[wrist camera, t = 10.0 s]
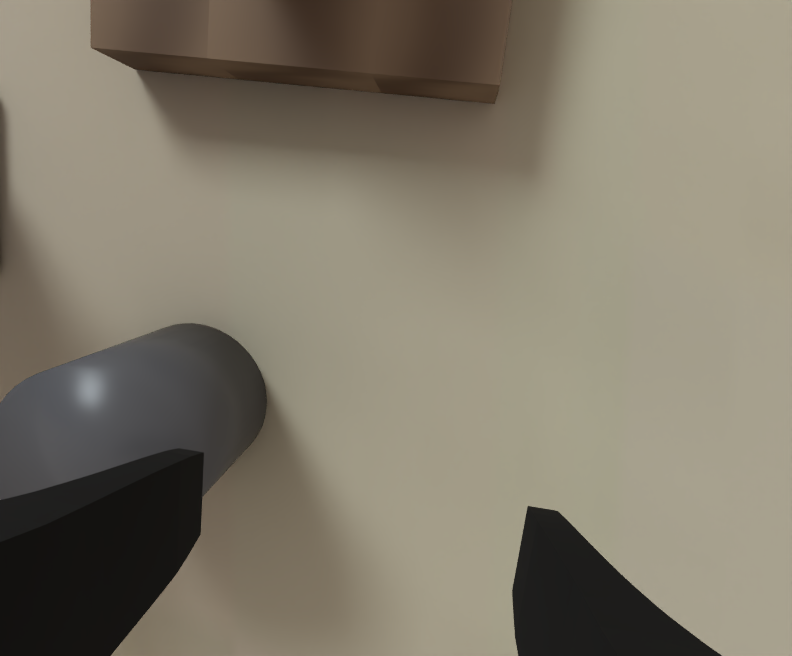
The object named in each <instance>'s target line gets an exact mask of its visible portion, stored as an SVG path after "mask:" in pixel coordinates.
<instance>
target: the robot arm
mask: <svg viewBox="0 0 792 656" xmlns="http://www.w3.org/2000/svg"><path fill="white" fill-rule="evenodd" d="M203 466H204V452H199V451H193V450H187V449H180V448H177V449H172V450H167V451H163V452H160V453H156V454H153V455H150V456H147V457H143V458H140V459H137V460H134V461H131V462H128V463H125V464H122V465H119V466H116V467H113V468H110V469H107V470H104V471H101V472H98V473H95V474H92V475H88V476H85V477H82V478H78V479H75V480H72V481H68V482H65V483H62V484H58V485H55V486H52V487H48V488H45V489H41V490H38V491H34V492H31V493H27V494H23V495H19V496H15V497H11V498H7V499H2V500H0V656H111V654H112V653H113V652H114V651H115V649H116V648H117V647H118V646H119V645H120V643H121V642H122V641H123V640H124V638H125V637H126V636H127V635H128V634H129V632H130V631H131V630H132V629H133V627H134V626H135V625H136V624H137V622H138V621H139V620H140V619H141V618H142V616H143V615H144V614H145V613H146V611H147V610H148V609H149V608H150V607H151V605H152V604H153V603H154V602H155V600H156V599H157V598H158V597H159V595H160V594H161V593H162V592H163V590H164V589H165V588H166V586H167V585H168V584H169V583H170V581H171V580H172V579H173V578H174V576H175V575H176V574H177V572H178V571H179V569H180V567H181V566H182V564H183V563H184V561H185V560H186V558H187V556H188V555H189V553H190V551H191V550H192V548H193V546H194V544H195V543H196V541H197V539H198V538H199V536H200V533H201V511H202V489H203ZM512 594H513V612H514V627H515V639H516V645H517V650H518V656H721V655H720V654H719V653H717V652H716V651H714V650H713V649H712V648H710V647H709V646H707V645H706V644H705V643H703V642H702V641H700V640H699V639H698V638H697V637H695V636H694V635H693V634H691V633H690V632H689V631H687V630H686V629H685V628H683V627H682V626H681V625H680V624H678V623H677V622H676V621H674V620H673V619H672V618H670V617H669V616H668V615H667V614H666V613H664V612H663V611H662V610H661V609H659V608H658V607H657V606H656V605H655V604H653V603H652V602H651V601H650V600H649V599H648V598H647V597H646V596H644V595H643V594H642V593H641V592H640V591H639V590H638V589H637V588H635V587H634V586H633V585H632V584H631V583H630V582H629V581H628V580H627V579H625V578H624V577H623V576H622V575H621V574H620V573H619V572H618V571H617V570H616V569H615V568H614V567H613V566H612V565H611V564H610V563H609V562H608V561H607V560H606V559H605V558H604V557H603V556H602V555H601V554H600V553H599V552H598V551H597V550H596V549H595V548H594V547H593V546H592V545H591V544H590V543H589V542H588V541H587V540H586V539H585V538H584V537H583V536H582V535H581V534H580V533H579V532H578V531H577V530H576V529H575V528H574V527H573V526H572V525H571V524H570V523H569V522H568V521H567V520H566V519H565V518H564V517H563V516H562V515H561V514H560V513H559V512H558V511H555V510H549V509H542V508H536V507H530V506H528V508H527V513H526V519H525V524H524V530H523V535H522V541H521V546H520V552H519V557H518V562H517V568H516V573H515V579H514V584H513V590H512Z"/></svg>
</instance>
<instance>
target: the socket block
mask: <svg viewBox="0 0 792 656" xmlns="http://www.w3.org/2000/svg"><path fill="white" fill-rule="evenodd" d="M511 5H512V0H91V48H93V49H95V50H97V51H99V52H101V53H103V54H105V55H107V56H109V57H111V58H113V59H115V60H117V61H119V62H121V63H123V64H125V65H127V66H129V67H131V68H133V69H136V70H147V71H157V72H168V73H178V74H189V75H199V76H210V77H220V78H231V79H241V80H252V81H262V82H273V83H283V84H294V85H304V86H315V87H325V88H335V89H346V90H356V91H367V92H377V93H388V94H398V95H409V96H419V97H430V98H440V99H451V100H461V101H472V102H482V103H493V104H495V100H496V97H497V93H498V90H499V86H500V81H501V74H502V67H503V60H504V53H505V46H506V40H507V33H508V26H509V19H510V12H511Z"/></svg>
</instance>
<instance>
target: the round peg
mask: <svg viewBox="0 0 792 656" xmlns="http://www.w3.org/2000/svg"><path fill="white" fill-rule="evenodd" d="M266 403H267V398H266V389H265V385H264V381H263V378H262V375H261V372H260V370H259V368H258V366H257V364H256V363H255V361H254V360H253V358H252V357H251V355H250V354H249V353H248V352H247V351H246V349H245V348H244V347H243V346H242V345H240V344H239V343H238V342H237V341H236V340H235V339H233V338H232V337H230V336H229V335H227V334H225V333H223V332H222V331H220V330H217V329H215V328H212V327H209V326H205V325H200V324H192V323H191V324H177V325H172V326H169V327H165V328H162V329H160V330H157V331H154V332H151V333H149V334H146V335H143V336H140V337H138V338H135V339H132V340H129V341H126V342H124V343H121V344H118V345H115V346H113V347H110V348H107V349H104V350H101V351H99V352H96V353H93V354H90V355H88V356H85V357H82V358H79V359H77V360H74V361H71V362H68V363H65V364H63V365H60V366H57V367H54V368H52V369H49V370H46V371H43V372H41V373H38V374H35V375H33V376H31V377H29V378H27V379H25V380H24V381H22V382H21V383H19V384H18V385H16V386H15V387H14V388H13V389H12V390H11V391H10V392H9V393H8V394H7V395H6V396H5V398H4V399H3V400H2V402H1V403H0V499H1V500H2V499H7V498H11V497H15V496H19V495H23V494H27V493H31V492H34V491H38V490H41V489H45V488H48V487H52V486H55V485H58V484H62V483H65V482H68V481H72V480H75V479H78V478H82V477H85V476H88V475H92V474H95V473H98V472H101V471H104V470H107V469H110V468H113V467H116V466H119V465H122V464H125V463H128V462H131V461H134V460H137V459H140V458H143V457H147V456H150V455H153V454H156V453H160V452H163V451H167V450H172V449H177V448H180V449H187V450H193V451H199V452H204V466H203V489H202V497H203V496H204V494H205V493H206V492H207V491H208V490H209V489H210V488H211V487H212V486H213V485H214V484H215V482H216V481H217V480H218V479H219V478H220V477H221V476H222V475H223V474H224V473H225V471H226V470H227V469H228V468H229V467H230V466H231V465H232V464H233V463H234V462H235V461H236V459H237V458H238V457H239V456H240V455H241V454H242V453H243V452H244V451H245V450H246V449H247V447H248V446H249V445H250V444H251V443H252V442H253V441H254V439H255V438H256V436H257V435H258V433H259V431H260V429H261V427H262V424H263V421H264V418H265V413H266Z"/></svg>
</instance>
